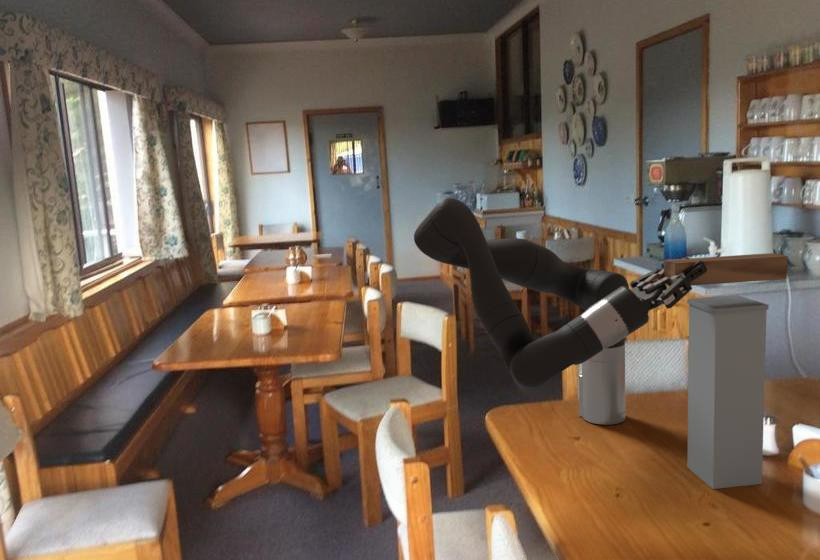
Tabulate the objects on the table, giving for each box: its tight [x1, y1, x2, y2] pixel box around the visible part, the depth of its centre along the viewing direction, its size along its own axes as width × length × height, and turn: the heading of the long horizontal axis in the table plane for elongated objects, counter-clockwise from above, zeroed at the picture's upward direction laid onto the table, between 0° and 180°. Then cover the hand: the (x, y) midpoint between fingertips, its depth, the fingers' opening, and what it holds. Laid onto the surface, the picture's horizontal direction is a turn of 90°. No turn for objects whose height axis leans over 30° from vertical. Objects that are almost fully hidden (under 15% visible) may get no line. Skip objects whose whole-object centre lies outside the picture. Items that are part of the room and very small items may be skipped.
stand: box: [686, 294, 769, 490], centre depth 127 cm, size 9×9×32 cm
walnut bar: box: [663, 252, 788, 287], centre depth 123 cm, size 4×20×4 cm, turn 96°
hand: (696, 263), depth 122 cm, fingers closed on walnut bar, 4 cm apart
